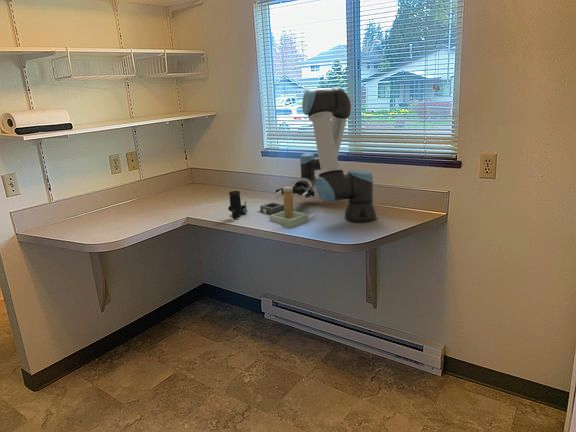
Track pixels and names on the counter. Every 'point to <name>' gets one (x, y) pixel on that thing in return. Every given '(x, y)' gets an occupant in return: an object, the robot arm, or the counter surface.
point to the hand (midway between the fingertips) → (289, 196)
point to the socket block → (271, 208)
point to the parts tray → (298, 219)
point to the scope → (236, 205)
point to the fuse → (288, 202)
